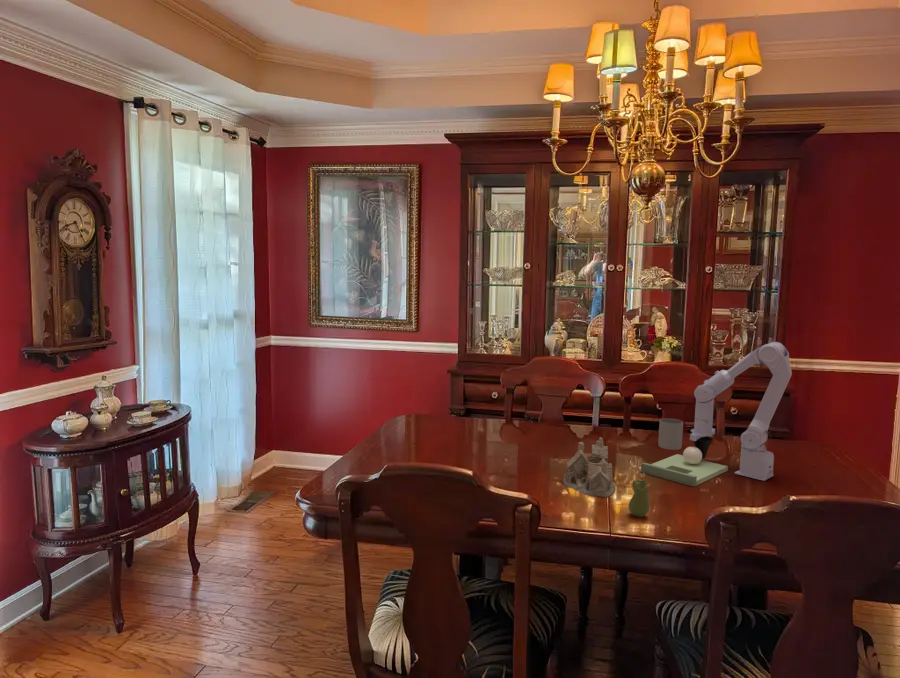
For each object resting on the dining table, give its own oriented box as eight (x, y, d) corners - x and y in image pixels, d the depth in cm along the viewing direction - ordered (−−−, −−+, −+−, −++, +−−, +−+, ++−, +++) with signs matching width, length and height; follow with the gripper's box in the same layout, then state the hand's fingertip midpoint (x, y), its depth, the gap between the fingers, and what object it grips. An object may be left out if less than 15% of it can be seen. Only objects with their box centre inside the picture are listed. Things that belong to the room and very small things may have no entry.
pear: (650, 520, 166) (652, 484, 165) (630, 519, 167) (632, 483, 165) (645, 512, 172) (647, 477, 171) (626, 511, 172) (628, 476, 171)
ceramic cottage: (565, 474, 202) (568, 430, 199) (618, 483, 196) (621, 438, 194) (556, 493, 188) (559, 446, 185) (612, 503, 182) (616, 455, 179)
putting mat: (727, 470, 209) (728, 461, 209) (693, 486, 193) (694, 477, 192) (676, 458, 222) (677, 450, 222) (641, 472, 206) (641, 463, 206)
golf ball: (704, 464, 211) (705, 447, 210) (696, 468, 206) (697, 450, 206) (687, 460, 215) (688, 443, 214) (679, 463, 211) (680, 446, 210)
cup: (683, 450, 232) (684, 424, 231) (659, 449, 234) (661, 422, 232) (679, 444, 240) (681, 419, 239) (657, 442, 242) (658, 417, 241)
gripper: (702, 413, 221) (699, 451, 223) (682, 420, 212) (680, 459, 213) (721, 417, 216) (719, 455, 218) (702, 424, 206) (700, 463, 208)
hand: (701, 457), depth 215 cm, fingers closed
